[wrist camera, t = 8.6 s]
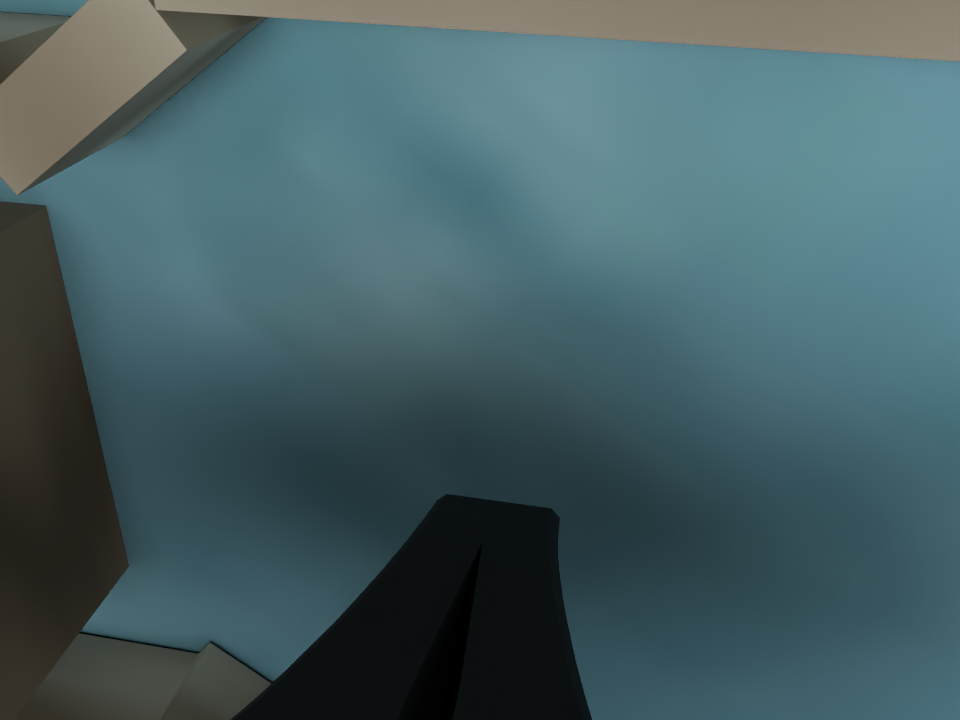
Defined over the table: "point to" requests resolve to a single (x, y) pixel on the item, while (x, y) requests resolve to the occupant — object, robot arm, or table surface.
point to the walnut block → (45, 467)
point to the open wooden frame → (421, 3)
